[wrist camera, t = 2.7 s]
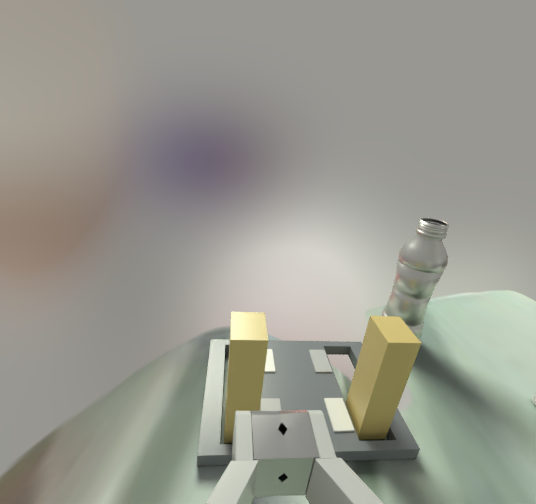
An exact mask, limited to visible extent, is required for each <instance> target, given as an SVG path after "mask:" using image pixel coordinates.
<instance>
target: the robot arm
mask: <svg viewBox="0 0 536 504" xmlns="http://www.w3.org/2000/svg"><path fill="white" fill-rule="evenodd" d="M531 399H532V402H533V403H534V404H535V406H536V393H535V394H534V395H533V397H532V398H531ZM279 495H280V496H287V495H306V498H307V500H308V501H309V503H310V504H384V503H383V502H382V501H381V500H380V499H379V498H378V497H377V496H376V495H375V494H374V493H373V492H372V491H371V490H370V488H369V487H368V486H367V485H366V484H365V483H364V482H363V481H362V480H361V479H360V478H359V477H358V476H357V474H356V473H355V472H354V471H353V470H352V469H351V468H350V467H349V466H348V465H347V464H346V463H345V462H344V460H343V459H342V458H337V457H336V454H335V451H334V447H333V444H332V441H331V437H330V434H329V431H328V427H327V424H326V421H325V417H324V414H323V412H322V411H321V410H307V411H306V410H284V411H235V420H234V431H233V446H232V461H230V463H229V465H228V466H227V468H226V470H225V471H224V473H223V475H222V476H221V478H220V480H219V481H218V483H217V485H216V486H215V488H214V490H213V492H212V493H211V495H210V497H209V498H208V500H207V502H206V503H205V504H251V503H252V501H253V498H255V497H267V496H279Z"/></svg>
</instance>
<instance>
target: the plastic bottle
mask: <svg viewBox="0 0 536 504" xmlns="http://www.w3.org/2000/svg"><path fill="white" fill-rule="evenodd" d="M448 227H449V224H448V223H446V222H444V221H441V220H437V219H433V218H421V219H420V222H419V225H418V227H417V229H416V232H417V235H416V236H414V237H413V238H412V239H410V240H409V241H408V242H407V243H405V244H404V245H403V247H402V248H401V250H400V252H399V256H398V263H397V270H396V277H395V281H394V285H393V289H392V292H391V295H390V298H389V300H388V302H387V305H386V307H385V308H384V310H383V312H382V314H381V316H394V317H401V319H402V320H403V321H404V322H405V324H406V325H407V326H408V327H409V328H410V330H411V331H412V332H413V333H414V335H415V336H416V337H417V338H418V339H420V337H421V335H422V330H423V324H424V322H423V321H424V317H425V313H426V309H427V305H428V302H429V300H430V296H431V295H432V293H433V291H434V288H435V286H436V284H437V283H438V281H439V279H440V277H441V275H442V274H443V272H444V270H445V268H446V266H447V260H448V259H447V258H448V256H447V253H446V250H445V247H444V245H443V242H442V239H445V238H446V235H447V234H446V233H447V230H448Z"/></svg>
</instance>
